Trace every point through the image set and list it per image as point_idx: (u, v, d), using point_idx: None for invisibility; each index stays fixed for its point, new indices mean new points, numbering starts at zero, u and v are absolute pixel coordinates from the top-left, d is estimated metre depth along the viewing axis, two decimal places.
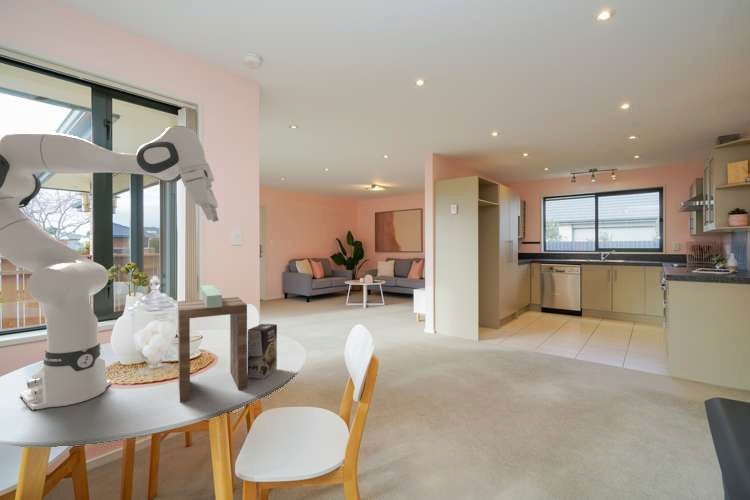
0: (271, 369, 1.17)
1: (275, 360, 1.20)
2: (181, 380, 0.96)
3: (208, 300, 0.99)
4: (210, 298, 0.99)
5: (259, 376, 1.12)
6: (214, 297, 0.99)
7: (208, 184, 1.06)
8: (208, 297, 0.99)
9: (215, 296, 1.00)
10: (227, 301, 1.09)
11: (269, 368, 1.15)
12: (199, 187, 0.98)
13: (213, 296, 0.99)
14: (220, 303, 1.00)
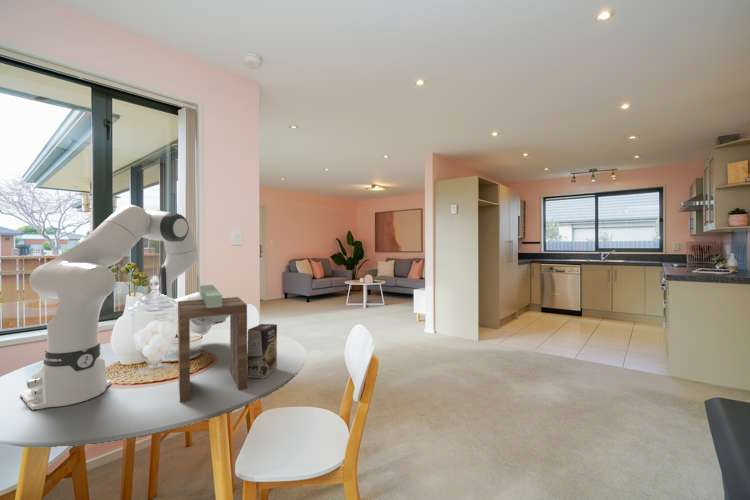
0: (271, 369, 1.17)
1: (275, 360, 1.20)
2: (181, 380, 0.96)
3: (208, 300, 0.99)
4: (210, 298, 0.99)
5: (259, 376, 1.12)
6: (214, 297, 0.99)
7: (208, 319, 1.36)
8: (208, 297, 0.99)
9: (215, 296, 1.00)
10: (227, 301, 1.09)
11: (269, 368, 1.15)
12: None
13: (213, 296, 0.99)
14: (220, 303, 1.00)
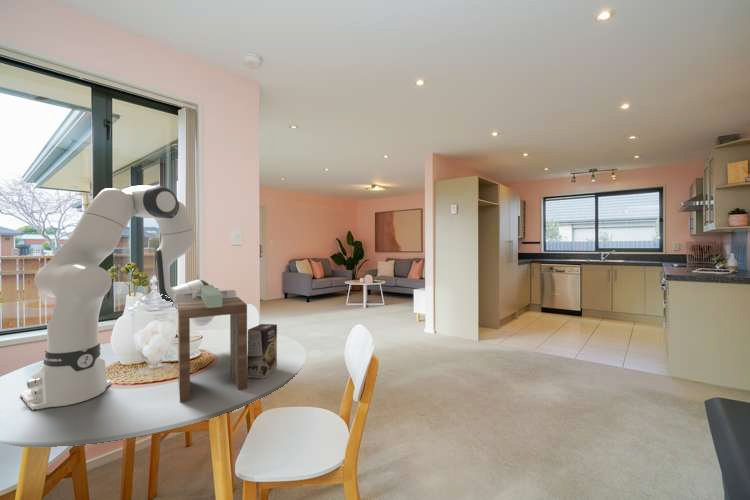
0: (271, 369, 1.17)
1: (275, 360, 1.20)
2: (181, 380, 0.96)
3: (208, 300, 0.99)
4: (210, 298, 0.99)
5: (259, 376, 1.12)
6: (214, 297, 0.99)
7: None
8: (208, 297, 0.99)
9: (215, 296, 1.00)
10: (227, 301, 1.09)
11: (269, 368, 1.15)
12: None
13: (213, 296, 0.99)
14: (220, 303, 1.00)
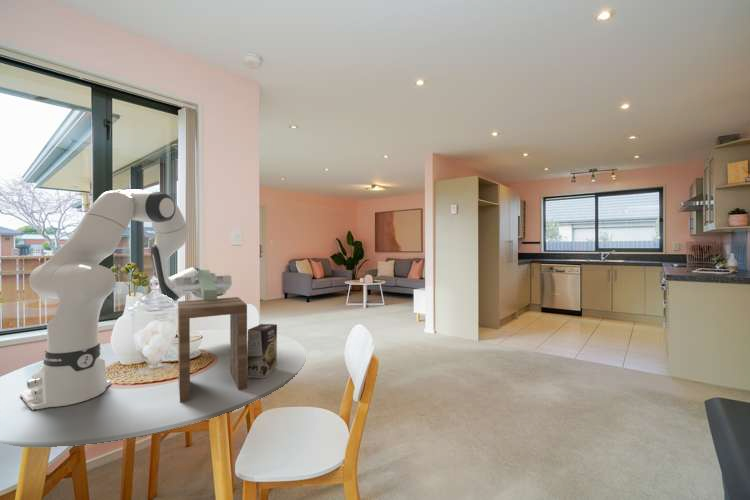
0: (271, 369, 1.17)
1: (275, 360, 1.20)
2: (181, 380, 0.96)
3: (204, 294, 1.10)
4: (206, 292, 1.10)
5: (259, 376, 1.12)
6: (210, 291, 1.11)
7: None
8: (204, 291, 1.10)
9: (211, 290, 1.11)
10: (227, 301, 1.09)
11: (269, 368, 1.15)
12: None
13: (209, 290, 1.10)
14: (215, 296, 1.12)
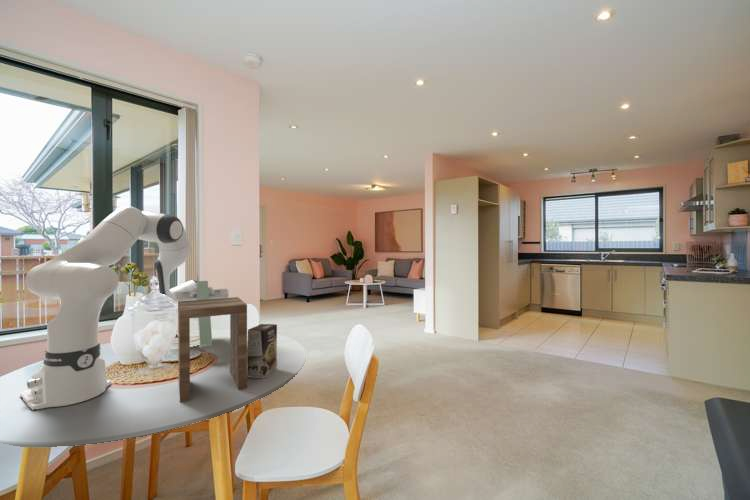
0: (271, 369, 1.17)
1: (275, 360, 1.20)
2: (181, 380, 0.96)
3: (201, 345, 1.26)
4: (202, 344, 1.26)
5: (259, 376, 1.12)
6: (205, 344, 1.26)
7: None
8: (201, 344, 1.25)
9: (206, 343, 1.26)
10: (227, 301, 1.09)
11: (269, 368, 1.15)
12: None
13: (205, 343, 1.26)
14: (210, 345, 1.28)
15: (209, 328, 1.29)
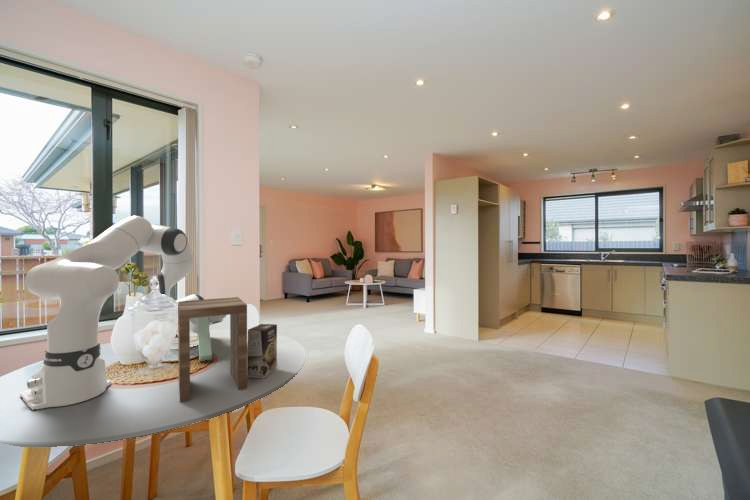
0: (271, 369, 1.17)
1: (275, 360, 1.20)
2: (181, 380, 0.96)
3: (200, 358, 1.26)
4: (202, 357, 1.26)
5: (259, 376, 1.12)
6: (205, 356, 1.27)
7: None
8: (201, 356, 1.26)
9: (206, 355, 1.27)
10: (227, 301, 1.09)
11: (269, 368, 1.15)
12: None
13: (205, 355, 1.26)
14: (210, 358, 1.29)
15: (208, 342, 1.31)
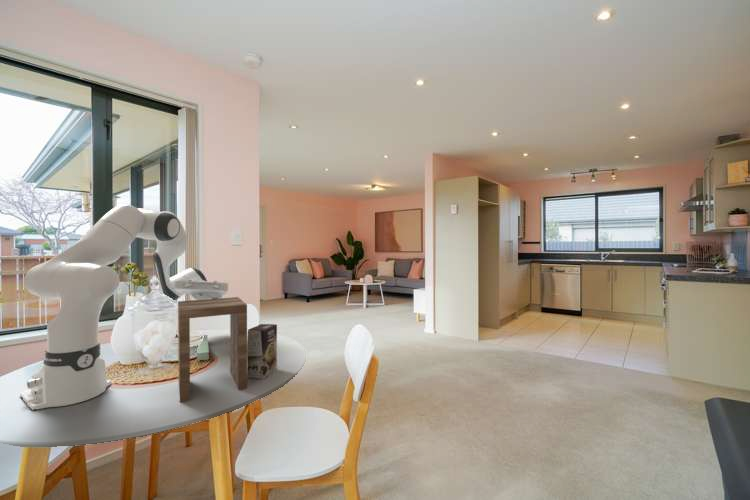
0: (271, 369, 1.17)
1: (275, 360, 1.20)
2: (181, 380, 0.96)
3: (198, 356, 1.28)
4: (199, 355, 1.28)
5: (259, 376, 1.12)
6: (202, 354, 1.28)
7: (205, 294, 1.47)
8: (198, 354, 1.28)
9: (203, 353, 1.29)
10: (227, 301, 1.09)
11: (269, 368, 1.15)
12: None
13: (202, 353, 1.28)
14: (207, 358, 1.29)
15: (206, 347, 1.34)
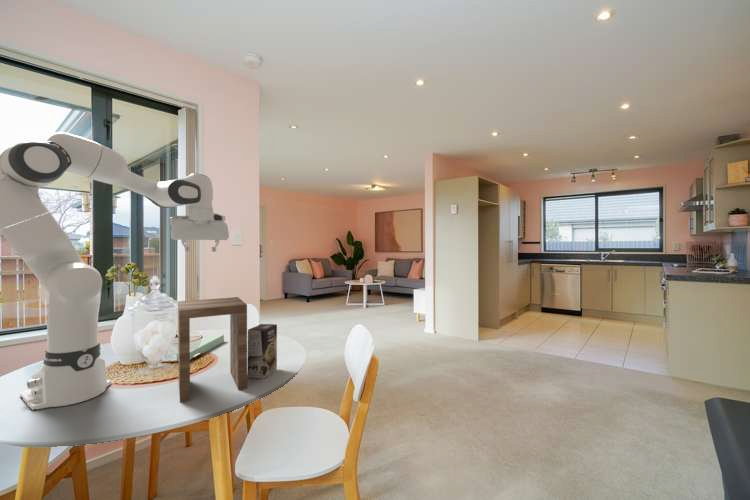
0: (271, 369, 1.17)
1: (275, 360, 1.20)
2: (181, 380, 0.96)
3: (177, 357, 1.27)
4: None
5: (259, 376, 1.12)
6: None
7: None
8: (177, 354, 1.27)
9: None
10: (227, 301, 1.09)
11: (269, 368, 1.15)
12: None
13: None
14: None
15: None
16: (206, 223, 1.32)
